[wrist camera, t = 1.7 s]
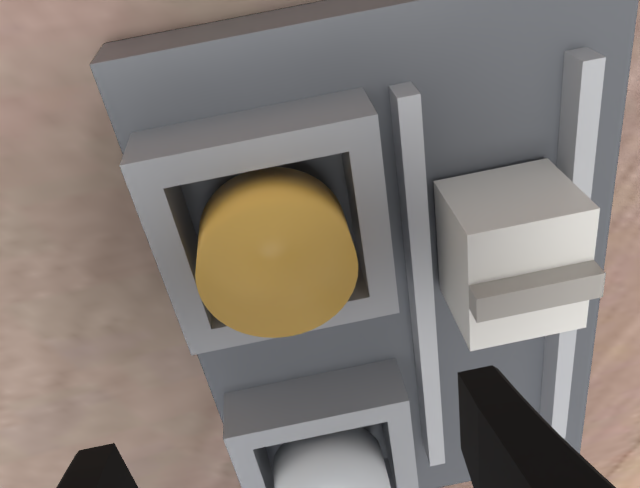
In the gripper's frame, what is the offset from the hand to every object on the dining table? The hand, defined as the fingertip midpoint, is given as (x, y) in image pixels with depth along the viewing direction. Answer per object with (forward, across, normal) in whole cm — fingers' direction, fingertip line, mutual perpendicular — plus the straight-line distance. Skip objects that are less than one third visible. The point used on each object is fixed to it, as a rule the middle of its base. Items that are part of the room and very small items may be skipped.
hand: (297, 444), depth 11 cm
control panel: (+10, -4, +5) cm, 12 cm away
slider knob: (+8, -6, +2) cm, 11 cm away
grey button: (+7, 0, +10) cm, 12 cm away
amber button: (+7, 0, 0) cm, 7 cm away
